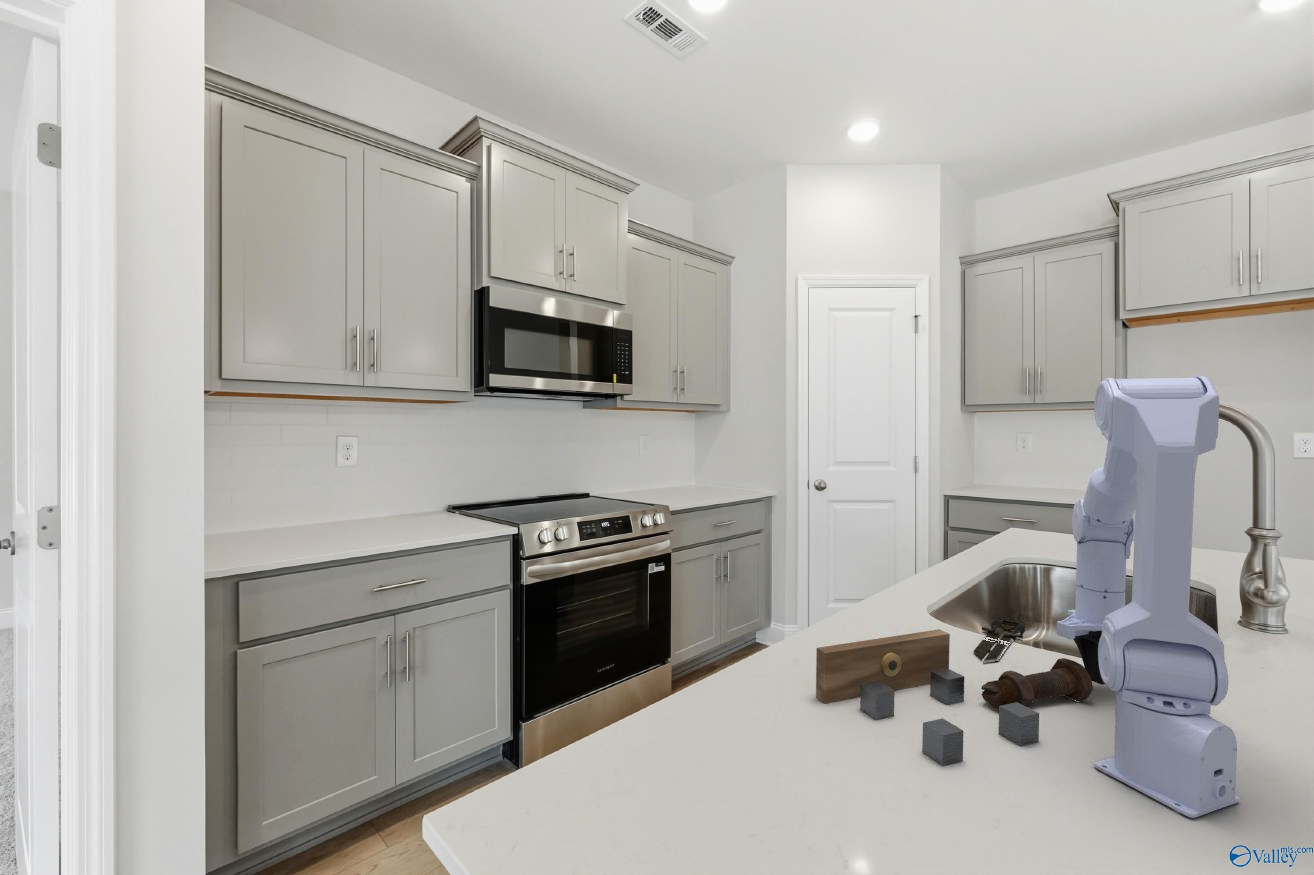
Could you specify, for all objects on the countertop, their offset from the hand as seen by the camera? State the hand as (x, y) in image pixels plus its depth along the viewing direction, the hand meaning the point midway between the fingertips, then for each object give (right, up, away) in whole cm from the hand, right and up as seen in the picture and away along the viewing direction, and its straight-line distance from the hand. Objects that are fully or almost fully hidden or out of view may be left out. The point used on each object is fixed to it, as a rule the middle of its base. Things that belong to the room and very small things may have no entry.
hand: (1097, 681), depth 87 cm
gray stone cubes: (-27, -2, -10) cm, 28 cm away
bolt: (-11, -2, -3) cm, 12 cm away
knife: (-3, -1, +19) cm, 19 cm away
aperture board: (-30, -1, +1) cm, 30 cm away
